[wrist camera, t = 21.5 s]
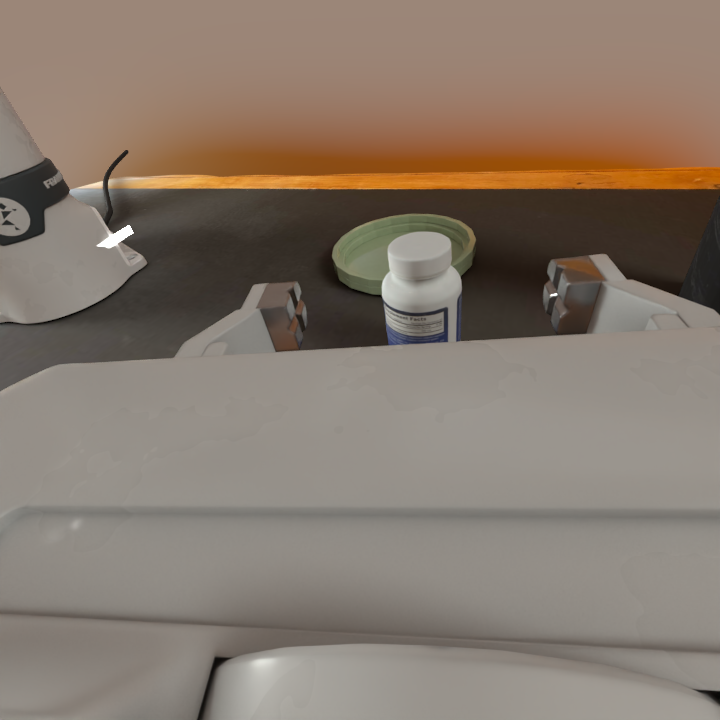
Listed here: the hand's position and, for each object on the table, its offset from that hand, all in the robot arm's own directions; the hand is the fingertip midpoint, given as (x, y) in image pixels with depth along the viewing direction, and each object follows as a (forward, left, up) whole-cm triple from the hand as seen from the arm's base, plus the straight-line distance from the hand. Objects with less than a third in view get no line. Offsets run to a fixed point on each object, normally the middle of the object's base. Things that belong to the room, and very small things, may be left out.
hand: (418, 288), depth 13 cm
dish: (-23, +16, -14) cm, 32 cm away
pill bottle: (-9, +7, -14) cm, 18 cm away
